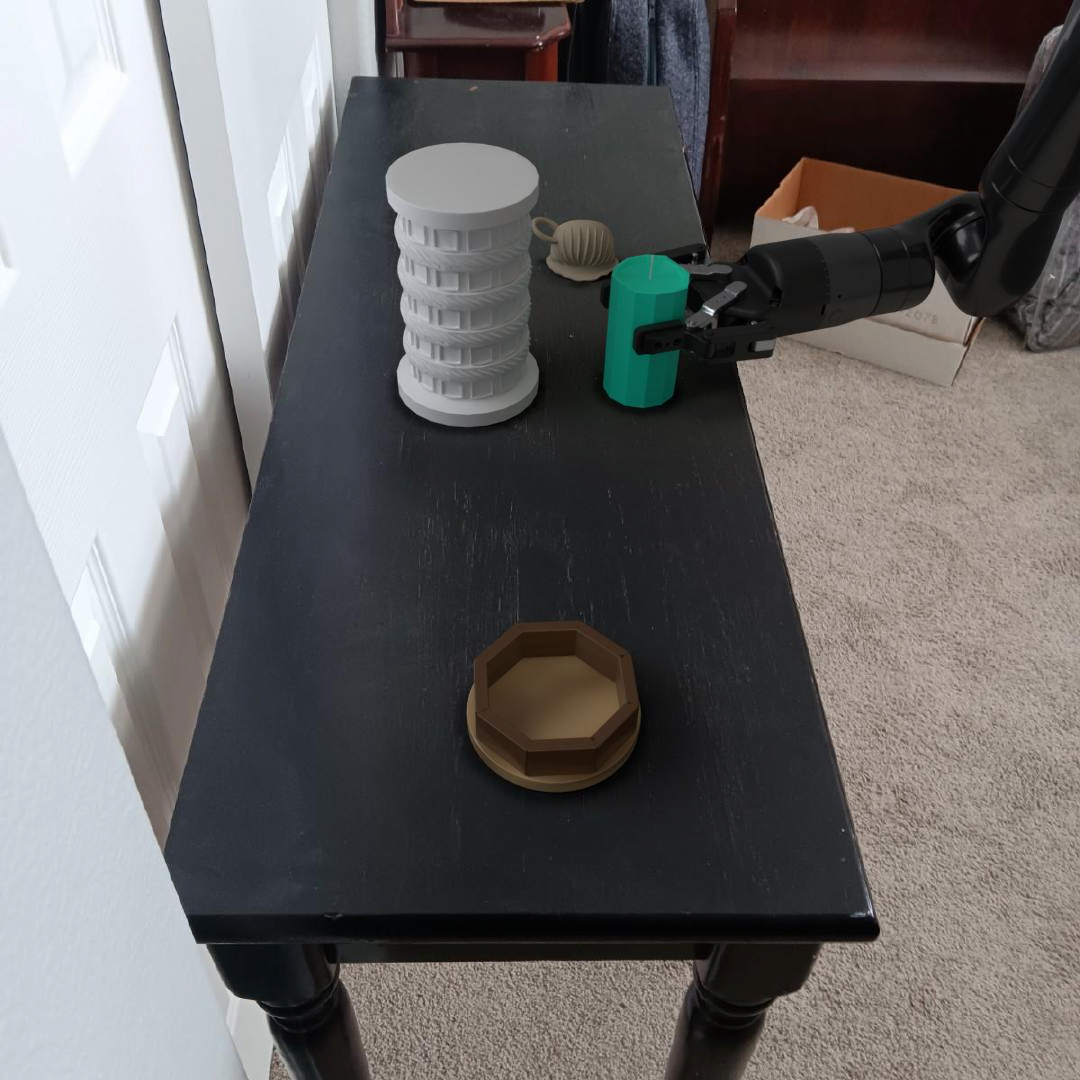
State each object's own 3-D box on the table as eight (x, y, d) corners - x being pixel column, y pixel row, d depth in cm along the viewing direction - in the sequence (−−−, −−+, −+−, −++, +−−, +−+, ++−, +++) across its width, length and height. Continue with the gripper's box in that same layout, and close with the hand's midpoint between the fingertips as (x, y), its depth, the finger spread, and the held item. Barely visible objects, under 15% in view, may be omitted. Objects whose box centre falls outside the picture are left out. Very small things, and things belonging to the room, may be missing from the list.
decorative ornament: (618, 283, 100) (623, 231, 96) (529, 279, 100) (530, 227, 97) (618, 261, 103) (622, 209, 99) (531, 257, 103) (532, 205, 99)
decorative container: (467, 446, 83) (460, 233, 70) (368, 383, 88) (345, 175, 76) (567, 383, 89) (577, 176, 76) (469, 327, 94) (463, 126, 82)
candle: (631, 416, 86) (645, 284, 77) (588, 378, 89) (597, 248, 81) (690, 392, 88) (709, 262, 80) (645, 356, 92) (659, 228, 83)
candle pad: (673, 712, 65) (680, 676, 63) (564, 826, 60) (566, 792, 57) (544, 625, 70) (545, 589, 68) (431, 723, 64) (427, 687, 62)
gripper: (774, 201, 90) (587, 229, 86) (865, 289, 80) (660, 326, 76) (759, 280, 95) (582, 311, 91) (843, 372, 85) (650, 411, 81)
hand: (618, 318), depth 83 cm, fingers open, 6 cm apart
